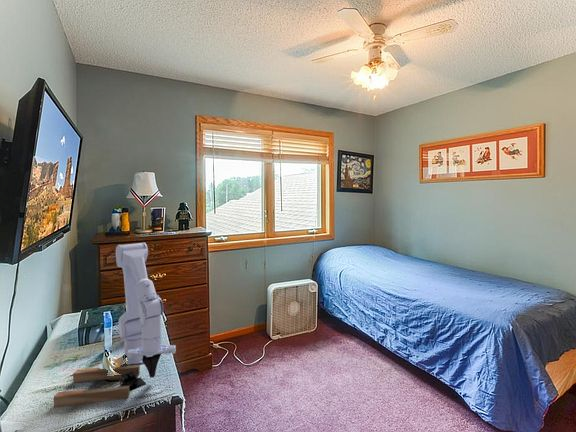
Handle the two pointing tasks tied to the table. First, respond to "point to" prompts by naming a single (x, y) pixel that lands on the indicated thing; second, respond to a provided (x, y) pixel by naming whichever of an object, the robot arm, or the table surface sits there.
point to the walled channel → (98, 394)
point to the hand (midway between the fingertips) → (152, 375)
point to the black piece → (131, 381)
